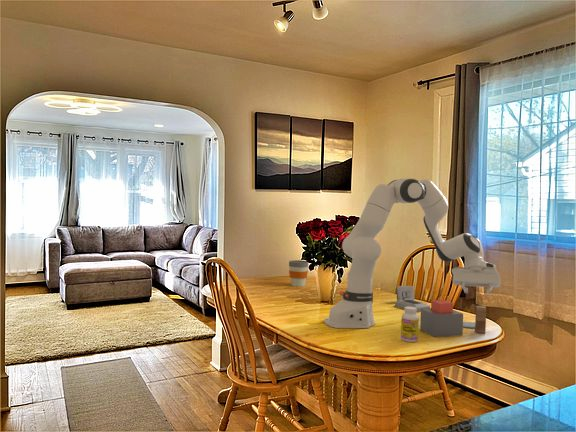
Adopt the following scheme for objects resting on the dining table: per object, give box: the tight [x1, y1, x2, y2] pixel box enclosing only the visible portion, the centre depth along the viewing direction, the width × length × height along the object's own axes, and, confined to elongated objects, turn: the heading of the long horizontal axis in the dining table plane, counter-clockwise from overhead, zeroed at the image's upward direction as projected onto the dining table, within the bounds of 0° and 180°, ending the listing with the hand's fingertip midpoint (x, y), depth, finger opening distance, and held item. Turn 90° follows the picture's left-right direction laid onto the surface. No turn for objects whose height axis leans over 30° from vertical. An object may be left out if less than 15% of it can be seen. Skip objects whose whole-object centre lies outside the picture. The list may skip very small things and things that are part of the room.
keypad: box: [394, 299, 431, 313], centre depth 242 cm, size 10×4×15 cm
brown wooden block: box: [474, 305, 487, 335], centre depth 199 cm, size 4×4×11 cm
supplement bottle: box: [400, 306, 420, 343], centre depth 185 cm, size 7×7×13 cm
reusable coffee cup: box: [288, 259, 309, 287], centre depth 300 cm, size 13×12×15 cm
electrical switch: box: [395, 285, 416, 301], centre depth 255 cm, size 9×5×9 cm, turn 104°
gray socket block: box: [419, 307, 464, 338], centre depth 197 cm, size 13×11×9 cm
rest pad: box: [463, 321, 475, 330], centre depth 210 cm, size 9×9×1 cm
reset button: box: [430, 299, 454, 314], centre depth 197 cm, size 6×6×5 cm
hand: (477, 293), depth 209 cm, fingers open, 8 cm apart
